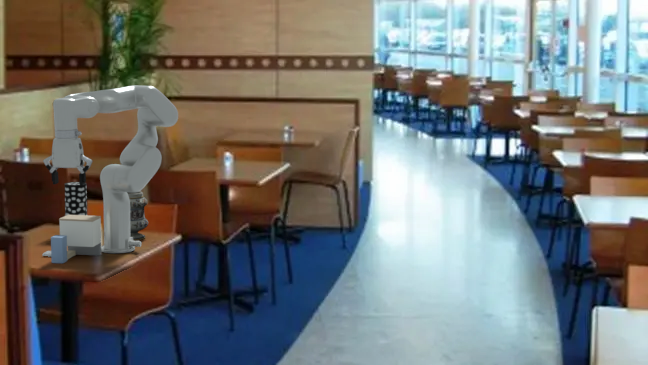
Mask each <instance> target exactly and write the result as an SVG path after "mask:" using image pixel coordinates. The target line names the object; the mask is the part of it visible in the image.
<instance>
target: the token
mask: <svg viewBox="0 0 648 365" xmlns="http://www.w3.org/2000/svg"><path fill="white" fill-rule="evenodd" d="M41 256H42V257H43V256H48V257H47V258H51V250H46V251H45V252H43V253H42V255H41Z"/></svg>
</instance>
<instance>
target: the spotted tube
mask: <svg viewBox="0 0 648 365" xmlns="http://www.w3.org/2000/svg"><path fill="white" fill-rule="evenodd" d="M87 193H88V192H87V182H85V184H83V185H80V182H79V181H73V182H65V183H64V209H65V210H64V211H65V212H64V216H66V215H88V200H87V199H88V197H87V196H88V194H87Z"/></svg>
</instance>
